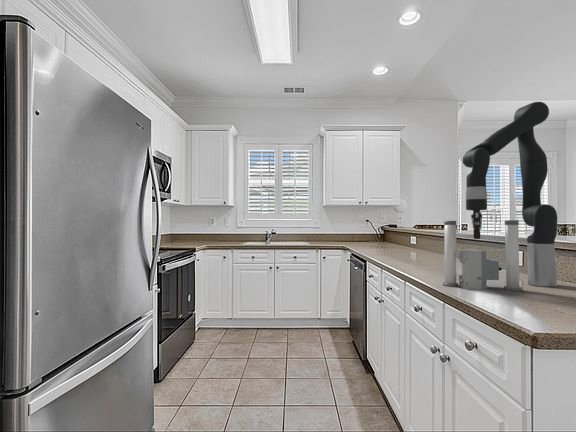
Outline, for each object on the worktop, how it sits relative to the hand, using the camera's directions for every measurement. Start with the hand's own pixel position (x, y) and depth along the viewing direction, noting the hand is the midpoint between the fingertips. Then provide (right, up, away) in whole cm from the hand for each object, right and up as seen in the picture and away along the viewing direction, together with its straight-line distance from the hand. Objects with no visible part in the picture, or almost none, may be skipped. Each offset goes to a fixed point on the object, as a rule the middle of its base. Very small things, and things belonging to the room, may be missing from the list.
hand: (476, 238), depth 141 cm
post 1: (-9, -20, +5) cm, 22 cm away
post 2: (+11, -20, -6) cm, 23 cm away
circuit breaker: (+1, -20, -1) cm, 20 cm away
